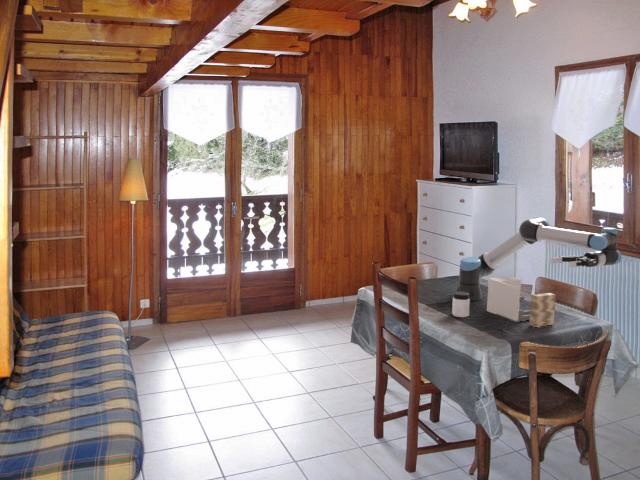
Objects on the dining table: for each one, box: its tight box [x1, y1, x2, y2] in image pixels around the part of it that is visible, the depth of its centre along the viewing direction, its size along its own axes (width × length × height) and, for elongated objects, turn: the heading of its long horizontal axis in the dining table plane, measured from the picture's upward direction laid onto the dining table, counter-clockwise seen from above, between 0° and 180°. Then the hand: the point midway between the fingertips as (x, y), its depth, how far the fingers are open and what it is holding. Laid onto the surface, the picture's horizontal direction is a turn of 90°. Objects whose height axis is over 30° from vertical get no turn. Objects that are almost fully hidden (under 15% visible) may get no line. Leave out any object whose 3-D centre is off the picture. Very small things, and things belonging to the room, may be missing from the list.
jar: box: [451, 291, 471, 318], centre depth 337 cm, size 9×8×12 cm
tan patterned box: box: [529, 292, 557, 328], centre depth 320 cm, size 12×4×16 cm, turn 114°
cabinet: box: [486, 276, 531, 323], centre depth 339 cm, size 16×23×18 cm, turn 24°
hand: (560, 262), depth 321 cm, fingers open, 13 cm apart
